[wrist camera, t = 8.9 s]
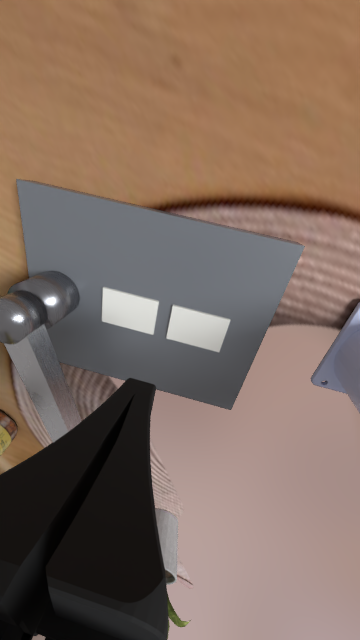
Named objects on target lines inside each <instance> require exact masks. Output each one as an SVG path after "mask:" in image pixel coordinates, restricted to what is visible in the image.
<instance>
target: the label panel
mask: <svg viewBox="0 0 360 640" xmlns="http://www.w3.org/2000/svg"><path fill="white" fill-rule="evenodd" d="M16 180H17V188H18V196H19V204H20V211H21V219H22V227H23V234H24V242H25V250H26V257H27V265H28V273H29V278H32V277H34V276H37V275H39V274H42V273H44V272H47V271H58V272H61V273H63V274H65V275H67V276H68V277H69V278H70V279H71V280H72V281H73V282H74V283H75V285H76V286H77V288H78V291H79V295H80V302H79V305H78V307H77V308H76V309H75V310H74V311H72V312H71V313H70V314H68V315H67V316H66V317H64V318H63V319H61V320H60V321H59V322H57V323H56V324H55V325H53V326H52V327H50V328H49V329H46V330H47V333H48V335H49V338H50V340H51V343H52V346H53V348H54V351H55V353H56V356H57V359H58V361H59V362H60V363H64V364H67V365H71V366H75V367H78V368H82V369H85V370H89V371H93V372H96V373H100V374H103V375H107V376H110V377H114V378H118V379H121V380H125V381H126V380H127V379H128V378H133V379H137V380H140V381H144V382H147V383H151V384H154V385H155V386H156V389H157V390H161V391H164V392H168V393H171V394H175V395H179V396H182V397H186V398H189V399H193V400H197V401H200V402H204V403H207V404H211V405H214V406H218V407H222V408H225V409H229V410H231V409H232V407H233V404H234V402H235V400H236V398H237V396H238V393H239V391H240V389H241V387H242V385H243V382H244V380H245V378H246V376H247V373H248V371H249V369H250V367H251V364H252V362H253V360H254V358H255V356H256V353H257V351H258V349H259V347H260V345H261V342H262V340H263V338H264V336H265V333H266V331H267V329H268V327H269V325H270V322H271V320H272V318H273V316H274V314H275V311H276V309H277V307H278V305H279V302H280V300H281V298H282V296H283V294H284V291H285V289H286V287H287V285H288V283H289V280H290V278H291V276H292V274H293V271H294V269H295V267H296V265H297V263H298V260H299V258H300V256H301V254H302V251H303V249H304V247H305V246H303V245H302V244H300V243H298V242H294V241H290V240H285V239H281V238H277V237H272V236H268V235H264V234H260V233H255V232H251V231H247V230H242V229H238V228H234V227H229V226H225V225H221V224H217V223H212V222H208V221H204V220H199V219H195V218H191V217H186V216H182V215H178V214H174V213H169V212H165V211H161V210H156V209H152V208H148V207H143V206H139V205H135V204H131V203H126V202H122V201H118V200H113V199H109V198H105V197H100V196H96V195H92V194H88V193H83V192H79V191H75V190H70V189H66V188H62V187H57V186H53V185H49V184H45V183H40V182H36V181H30V180H20V179H16Z"/></svg>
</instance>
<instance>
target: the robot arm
mask: <svg viewBox="0 0 360 640" xmlns="http://www.w3.org/2000/svg"><path fill="white" fill-rule="evenodd" d="M311 381H312V383H313V384H314V385H317V386H320V387H324V388H328V389H332V390H335V391H339V392H343V393H346V394H348V396H349V397H350V399H351V400H352V402H353V403H354V405H355V407H356V408H357V410H358V411H359V413H360V302H359V303H358V305H357V306H356V308H355V309H354V311H353V312H352V314H351V316H350V317H349V319H348V320H347V322H346V323H345V325H344V327H343V328H342V330H341V331H340V333H339V335H338V336H337V338H336V339H335V341H334V342H333V344H332V345H331V347H330V349H329V350H328V352H327V353H326V355H325V356H324V358H323V360H322V361H321V363H320V364H319V366H318V367H317V369H316V370H315V372H314V374H313V375H312V377H311ZM322 381H325V382H322ZM155 391H156V386H155V385H154V384H151V383H147V382H144V381H140V380H137V379H133V378H128V379H127V380H126V381H125V383H123V385H122V386H121V387H120V388H119V389H118V390H117V391H116V392H115V393H114V394H113V395H112V396H111V397H110V398H108V399H107V400H106V401H105V402H104V403H103V404H102V405H101V406H100V407H99V408H97V409H96V410H95V411H94V412H93V413H91V414H90V415H89V416H88V417H87V418H85V419H84V420H83V421H82V422H80V423H79V424H78V425H77V426H75V427H74V428H73V429H71V430H70V431H69V432H67V433H66V434H65V435H63V436H62V437H60V438H59V439H58V440H56V441H55V442H53V443H52V444H50V445H49V446H47V447H46V448H44V449H42V450H41V451H39V452H38V453H36V454H35V455H33V456H32V457H30V458H28V459H27V460H25V461H23V462H22V463H20V464H18V465H16V466H15V467H13V468H11V469H9V470H8V471H6V472H4V473H2V474H1V475H0V640H32V637H33V636H37V635H38V634H40V635H42V636H45V637H46V638H45V640H167V637H168V602H167V589H166V573H165V567H164V562H163V557H162V551H161V545H160V540H159V533H158V527H157V520H156V513H155V505H154V497H153V489H152V478H151V464H150V415H151V410H152V406H153V401H154V396H155Z"/></svg>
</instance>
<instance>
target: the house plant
mask: <svg viewBox="0 0 360 640" xmlns="http://www.w3.org/2000/svg"><path fill="white" fill-rule="evenodd" d="M155 513H156V520H157V527H158V533H159V540H160V545H161V551H162V557H163V562H164V567H165V573H166V585H167V584H173V583H175V582H176V580H177V539H178V534H177V533H178V520H177V518H176V517H175V516H174V515H173V514H171V513H170V512H168V511H165V510H162V509H155ZM167 602H168V616H169V618H170V619H171V620H172V621H173V622H174V624H176V625H177V626H178V627H185V626H186V625H187V624H188V623H189V622H185V621H181V620H180V618H179V617H178V616H177V614H176V612H175V611H174V609H173V607H172V605H171V603H170V601H169V598H168V594H167ZM168 631H169V620H168ZM167 639H168V637H167Z"/></svg>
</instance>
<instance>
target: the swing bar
mask: <svg viewBox="0 0 360 640" xmlns="http://www.w3.org/2000/svg"><path fill="white" fill-rule="evenodd" d="M47 318H48V314H47V310H46V308H45V306H44V304H43V303H42V301H41V300H40V299H39V298H38V297H37V296H35V295H34V294H32V293H31V292H28V291H25V290H17V291H14V292H12V293H10V294H7V295H5V296H3V297H1V298H0V342H2V343H4V345H5V347H6V349H7V351H8V353H9V355H10V357H11V359H12V361H13V363H14V365H15V367H16V369H17V371H18V373H19V375H20V377H21V379H22V381H23V383H24V385H25V387H26V389H27V391H28V393H29V395H30V397H31V399H32V401H33V403H34V405H35V407H36V409H37V411H38V413H39V415H40V417H41V419H42V421H43V423H44V425H45V427H46V429H47V431H48V433H49V435H50V437H51V439H52V441H53V442H55V441H56V440H58V439H59V438H60V437H62V436H63V435H65V434H66V433H67V432H69V431H70V430H71V429H73V428H74V427H75V426H77V425H78V424H79V423H80V422H82V421H81V418H80V415H79V413H78V410H77V408H76V405H75V403H74V400H73V397H72V395H71V392H70V390H69V387H68V384H67V382H66V379H65V377H64V374H63V371H62V369H61V366H60V364H59V361H58V359H57V356H56V353H55V351H54V348H53V346H52V343H51V340H50V338H49V335H48V333H47V330H46V327H45V325H44V324H45V323H46V321H47Z"/></svg>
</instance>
